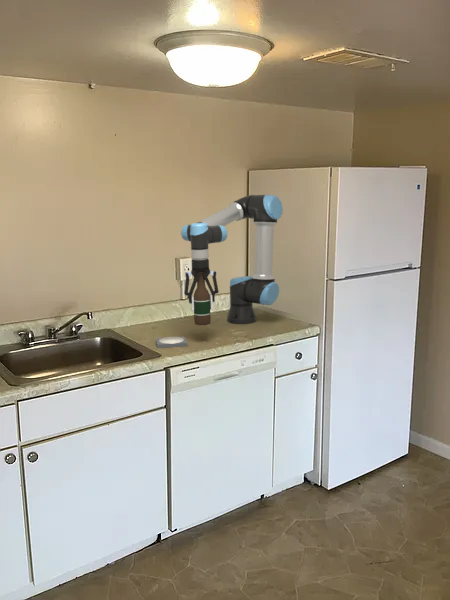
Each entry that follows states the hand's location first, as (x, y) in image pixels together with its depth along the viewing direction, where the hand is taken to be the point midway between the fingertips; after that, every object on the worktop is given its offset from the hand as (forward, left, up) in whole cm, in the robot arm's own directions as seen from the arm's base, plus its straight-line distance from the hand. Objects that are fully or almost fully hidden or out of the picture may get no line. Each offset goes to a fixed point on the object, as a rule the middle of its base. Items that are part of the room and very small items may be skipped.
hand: (202, 309), depth 246 cm
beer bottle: (0, 0, -6) cm, 6 cm away
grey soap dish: (+14, -2, -15) cm, 21 cm away
